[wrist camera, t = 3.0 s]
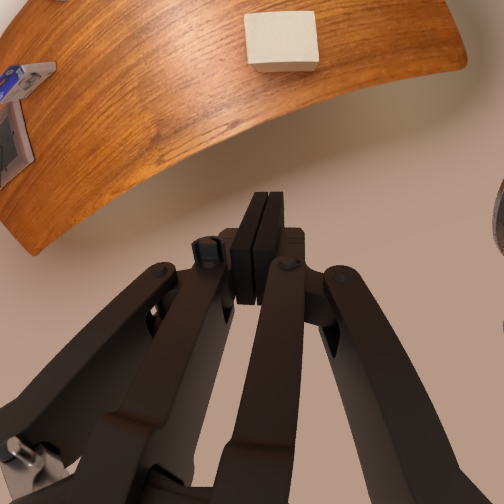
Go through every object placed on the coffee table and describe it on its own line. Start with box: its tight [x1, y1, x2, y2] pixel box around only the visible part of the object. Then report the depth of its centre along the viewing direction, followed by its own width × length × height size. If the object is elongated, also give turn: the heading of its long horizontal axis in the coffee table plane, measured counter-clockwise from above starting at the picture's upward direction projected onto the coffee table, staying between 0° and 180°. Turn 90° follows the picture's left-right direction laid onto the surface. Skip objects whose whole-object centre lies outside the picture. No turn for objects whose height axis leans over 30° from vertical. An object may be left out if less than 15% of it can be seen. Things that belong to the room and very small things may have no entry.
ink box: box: [0, 61, 57, 104], centre depth 27 cm, size 12×2×12 cm, turn 105°
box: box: [244, 11, 319, 73], centre depth 24 cm, size 6×7×9 cm
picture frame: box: [0, 100, 34, 190], centre depth 39 cm, size 16×2×22 cm
